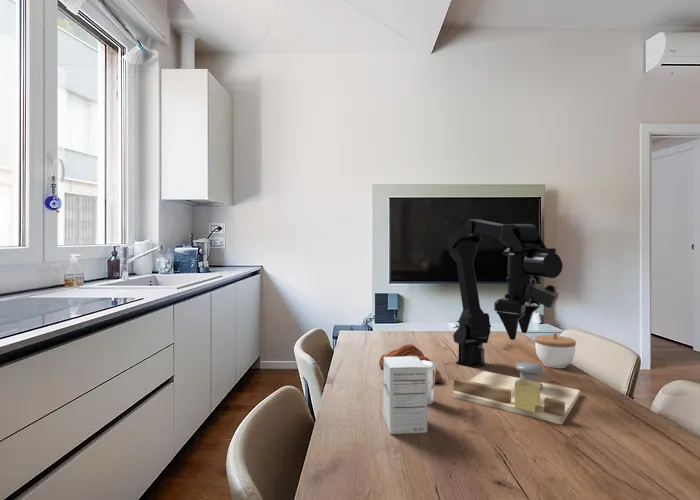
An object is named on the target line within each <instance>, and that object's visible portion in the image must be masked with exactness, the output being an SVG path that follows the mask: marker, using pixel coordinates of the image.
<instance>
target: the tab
mask: <svg viewBox="0 0 700 500" xmlns="http://www.w3.org/2000/svg"><path fill="white" fill-rule="evenodd" d="M515 407H516V408H520V409H524V410H528V411H532V412H536V410H537V409H538V408H539V407H540V381H538V382H535V381H530V380H525V379H519V380H518V381H517V382H516V383H515Z"/></svg>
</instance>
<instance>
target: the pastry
mask: <svg viewBox="0 0 700 500" xmlns="http://www.w3.org/2000/svg"><path fill="white" fill-rule="evenodd" d="M404 356H417V357H418V358H419V359H420V360H421V361H423V360H426V361H431V362H433V361H432V360H431V359H429V358H428V357H427V356H425V355H424V353H423V352H422V351H421V350H420V349H419V348H417V347H416V346H414V345H413V344H404V345H401V346H400V347H398V348H397V349H393V350H391V351H390V352H389V353H385V354H382V355H381V356H380V359H379V361H378V362H379V363H378V365H379V367H380V368H381V369H382V370H383V371H384V357H404ZM440 383H442V375H441V372H440V371H438V369H437V368H436V372H435V381H434V384H440Z"/></svg>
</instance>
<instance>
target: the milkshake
mask: <svg viewBox="0 0 700 500" xmlns="http://www.w3.org/2000/svg"><path fill="white" fill-rule="evenodd" d="M431 361H432V360H431ZM431 361H426V360H423V361H422V362H423V363H424V364H425V365H426V366H427V405H432V404H433V403H434V394H435V393H434V392H435V383H434V381H435V372H436V369H437V365H436V364H435V363H436V360H434V361H432V362H431Z"/></svg>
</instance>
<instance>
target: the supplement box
mask: <svg viewBox="0 0 700 500" xmlns="http://www.w3.org/2000/svg"><path fill="white" fill-rule="evenodd" d="M382 392H383V395H382V397H383V403H382V404H383V405H382V406H383V408H382V409H383V413H382V414H383V419H384V421H385V423H386V426H387V428H388V431H389V434H391V435H402V434H407V435H408V434H422V433H423V434H425V433H428V404H427V366H426V365H425V364H424V363H423V362H422V361H421V360H420V359H419V358H418V357H417V356H404V357H384V370H383V391H382Z"/></svg>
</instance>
